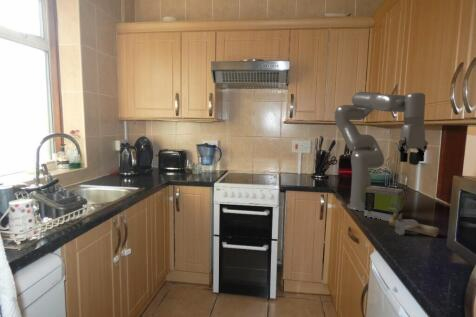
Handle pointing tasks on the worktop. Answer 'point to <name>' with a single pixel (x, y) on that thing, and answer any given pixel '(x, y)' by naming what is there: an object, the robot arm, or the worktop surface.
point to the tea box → (383, 202)
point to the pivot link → (416, 227)
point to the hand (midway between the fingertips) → (411, 161)
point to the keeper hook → (403, 225)
